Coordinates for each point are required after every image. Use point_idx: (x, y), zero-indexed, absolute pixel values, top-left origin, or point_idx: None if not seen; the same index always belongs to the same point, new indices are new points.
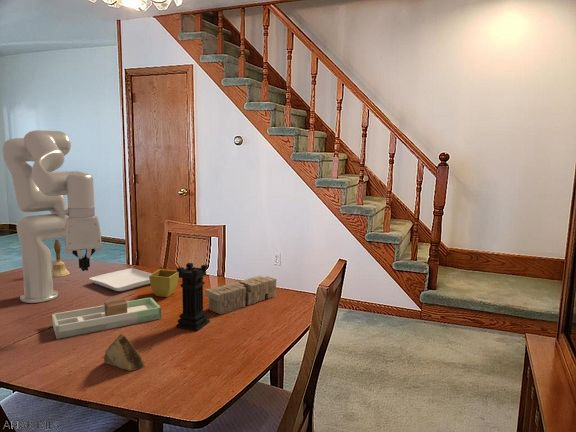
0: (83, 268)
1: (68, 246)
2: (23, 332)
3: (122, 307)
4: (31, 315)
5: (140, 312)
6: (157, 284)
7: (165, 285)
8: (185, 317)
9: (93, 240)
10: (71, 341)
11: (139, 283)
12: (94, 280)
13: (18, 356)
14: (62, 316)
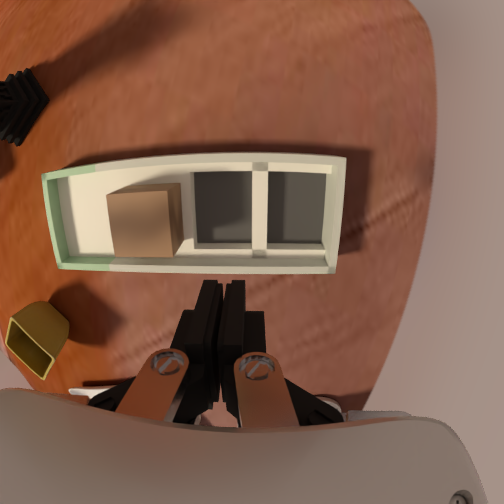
0: (237, 287)
1: (462, 455)
2: (389, 248)
3: (125, 191)
4: (348, 341)
5: (88, 165)
6: (47, 329)
7: (31, 313)
8: (20, 89)
9: (9, 495)
10: (301, 116)
11: (103, 387)
12: None
13: (416, 109)
14: (306, 261)
